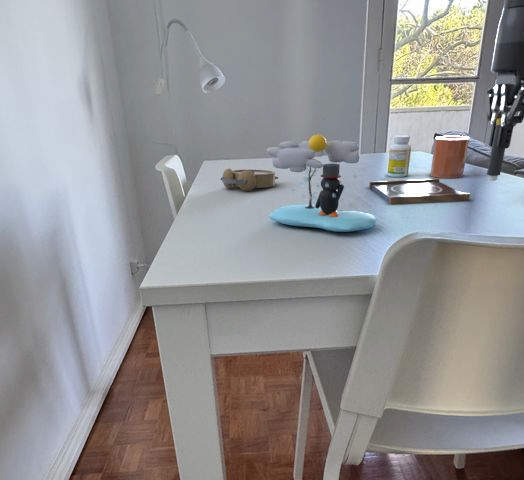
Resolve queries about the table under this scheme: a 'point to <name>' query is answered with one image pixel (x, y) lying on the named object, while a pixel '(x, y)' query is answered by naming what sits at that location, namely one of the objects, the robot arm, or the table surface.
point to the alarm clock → (248, 179)
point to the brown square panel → (417, 191)
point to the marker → (495, 156)
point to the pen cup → (449, 156)
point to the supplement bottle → (399, 156)
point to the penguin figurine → (328, 199)
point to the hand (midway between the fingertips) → (498, 146)
